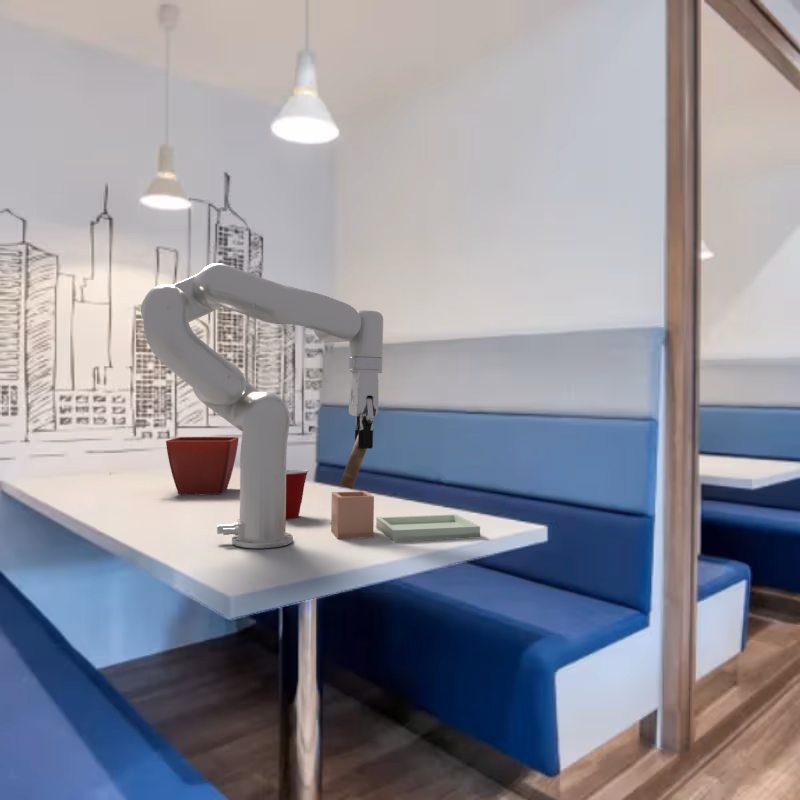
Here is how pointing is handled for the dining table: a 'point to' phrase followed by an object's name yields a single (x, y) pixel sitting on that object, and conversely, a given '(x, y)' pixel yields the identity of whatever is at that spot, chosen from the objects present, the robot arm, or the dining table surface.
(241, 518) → the robot arm
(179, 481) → the plant pot
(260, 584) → the dining table surface
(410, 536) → the tray
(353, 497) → the pink square bin
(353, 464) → the dowel
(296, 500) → the plastic cup
